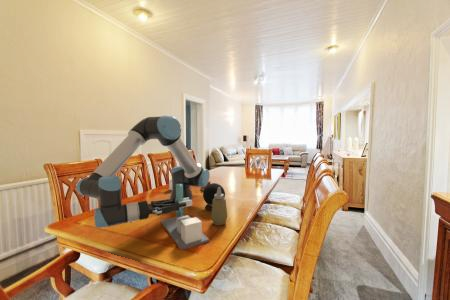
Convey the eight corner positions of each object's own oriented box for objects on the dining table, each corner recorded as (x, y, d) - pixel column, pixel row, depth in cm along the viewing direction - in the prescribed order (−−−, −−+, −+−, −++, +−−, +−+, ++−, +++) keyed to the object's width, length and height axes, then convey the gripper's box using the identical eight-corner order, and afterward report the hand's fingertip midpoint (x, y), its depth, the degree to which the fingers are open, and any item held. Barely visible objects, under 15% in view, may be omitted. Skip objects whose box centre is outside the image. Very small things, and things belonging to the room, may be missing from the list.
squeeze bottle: (221, 228, 97) (221, 190, 96) (208, 224, 102) (207, 188, 100) (230, 221, 104) (230, 186, 103) (217, 218, 109) (216, 184, 107)
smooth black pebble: (222, 203, 132) (222, 180, 131) (227, 211, 119) (227, 185, 118) (201, 205, 129) (201, 181, 128) (204, 213, 116) (204, 187, 115)
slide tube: (176, 224, 98) (174, 184, 96) (182, 223, 100) (181, 183, 98) (188, 238, 85) (186, 191, 83) (195, 236, 86) (194, 190, 85)
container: (182, 188, 171) (182, 172, 170) (177, 190, 164) (177, 174, 163) (174, 187, 173) (174, 172, 172) (169, 190, 166) (168, 174, 165)
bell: (207, 192, 158) (207, 183, 157) (197, 190, 166) (196, 181, 165) (218, 189, 167) (217, 180, 166) (207, 187, 174) (207, 178, 174)
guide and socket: (161, 222, 105) (160, 205, 104) (183, 217, 111) (183, 201, 110) (181, 250, 79) (180, 228, 78) (209, 241, 85) (208, 221, 85)
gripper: (135, 213, 95) (184, 204, 107) (141, 227, 81) (197, 214, 93) (134, 197, 94) (184, 189, 106) (140, 208, 80) (197, 198, 92)
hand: (190, 201), depth 99 cm, fingers closed on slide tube, 3 cm apart
